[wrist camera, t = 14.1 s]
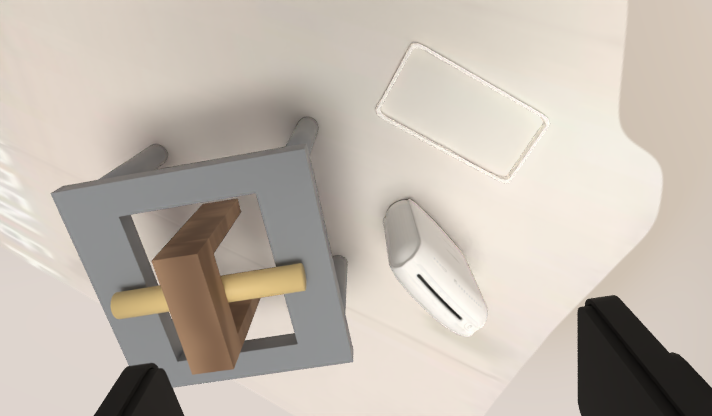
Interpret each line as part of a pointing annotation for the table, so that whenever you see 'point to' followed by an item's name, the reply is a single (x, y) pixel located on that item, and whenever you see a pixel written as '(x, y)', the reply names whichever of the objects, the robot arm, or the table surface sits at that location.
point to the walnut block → (203, 291)
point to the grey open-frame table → (290, 276)
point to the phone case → (498, 178)
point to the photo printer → (433, 269)
